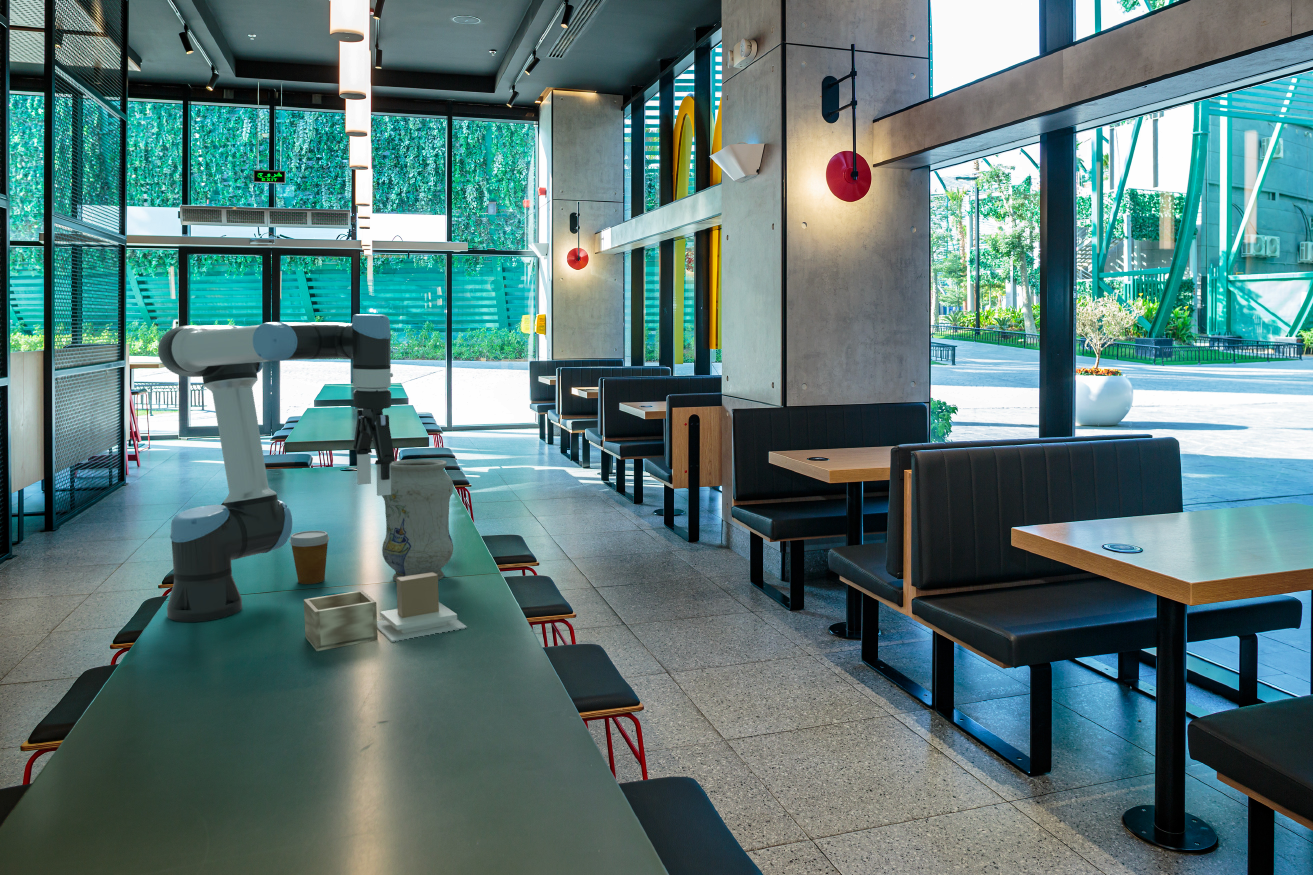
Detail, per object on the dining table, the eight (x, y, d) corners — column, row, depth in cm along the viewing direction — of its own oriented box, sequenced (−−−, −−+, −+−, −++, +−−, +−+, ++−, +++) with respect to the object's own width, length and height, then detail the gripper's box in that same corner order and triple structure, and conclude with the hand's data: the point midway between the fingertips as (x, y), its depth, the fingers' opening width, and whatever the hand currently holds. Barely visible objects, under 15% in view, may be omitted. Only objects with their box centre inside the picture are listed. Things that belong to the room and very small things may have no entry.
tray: (392, 642, 186) (391, 640, 186) (372, 623, 198) (372, 622, 198) (466, 628, 195) (466, 626, 195) (443, 611, 207) (443, 609, 207)
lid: (397, 636, 188) (395, 587, 187) (380, 622, 198) (378, 575, 196) (457, 625, 196) (456, 577, 194) (438, 612, 205) (437, 566, 203)
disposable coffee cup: (318, 586, 227) (315, 539, 225) (283, 584, 229) (280, 537, 227) (338, 576, 236) (336, 531, 235) (305, 574, 238) (303, 529, 236)
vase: (427, 564, 248) (423, 454, 244) (470, 575, 237) (467, 460, 233) (369, 578, 234) (364, 462, 231) (411, 591, 223) (407, 469, 219)
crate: (316, 651, 181) (315, 611, 180) (305, 637, 190) (303, 599, 189) (377, 639, 188) (376, 601, 187) (364, 626, 196) (362, 590, 195)
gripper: (410, 393, 183) (411, 498, 186) (372, 384, 204) (373, 478, 206) (372, 394, 179) (374, 501, 182) (337, 384, 199) (339, 480, 202)
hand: (373, 489), depth 194 cm, fingers open, 13 cm apart
